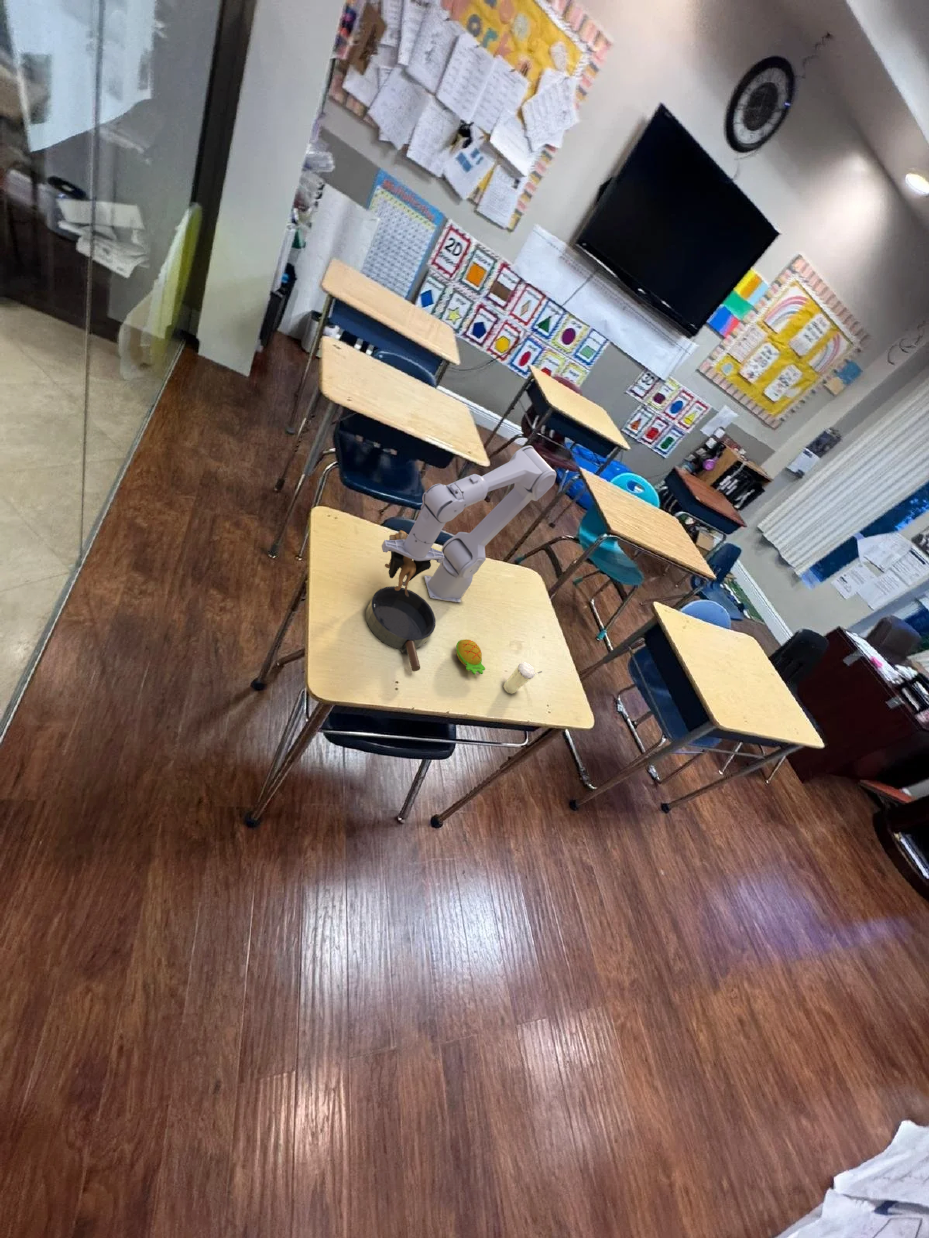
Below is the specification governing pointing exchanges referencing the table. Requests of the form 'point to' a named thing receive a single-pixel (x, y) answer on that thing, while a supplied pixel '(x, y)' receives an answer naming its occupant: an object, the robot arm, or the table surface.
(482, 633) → the table surface
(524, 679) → the milkshake
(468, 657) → the toy pineapple
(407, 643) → the pan handle
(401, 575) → the lion figurine
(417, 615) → the pan
